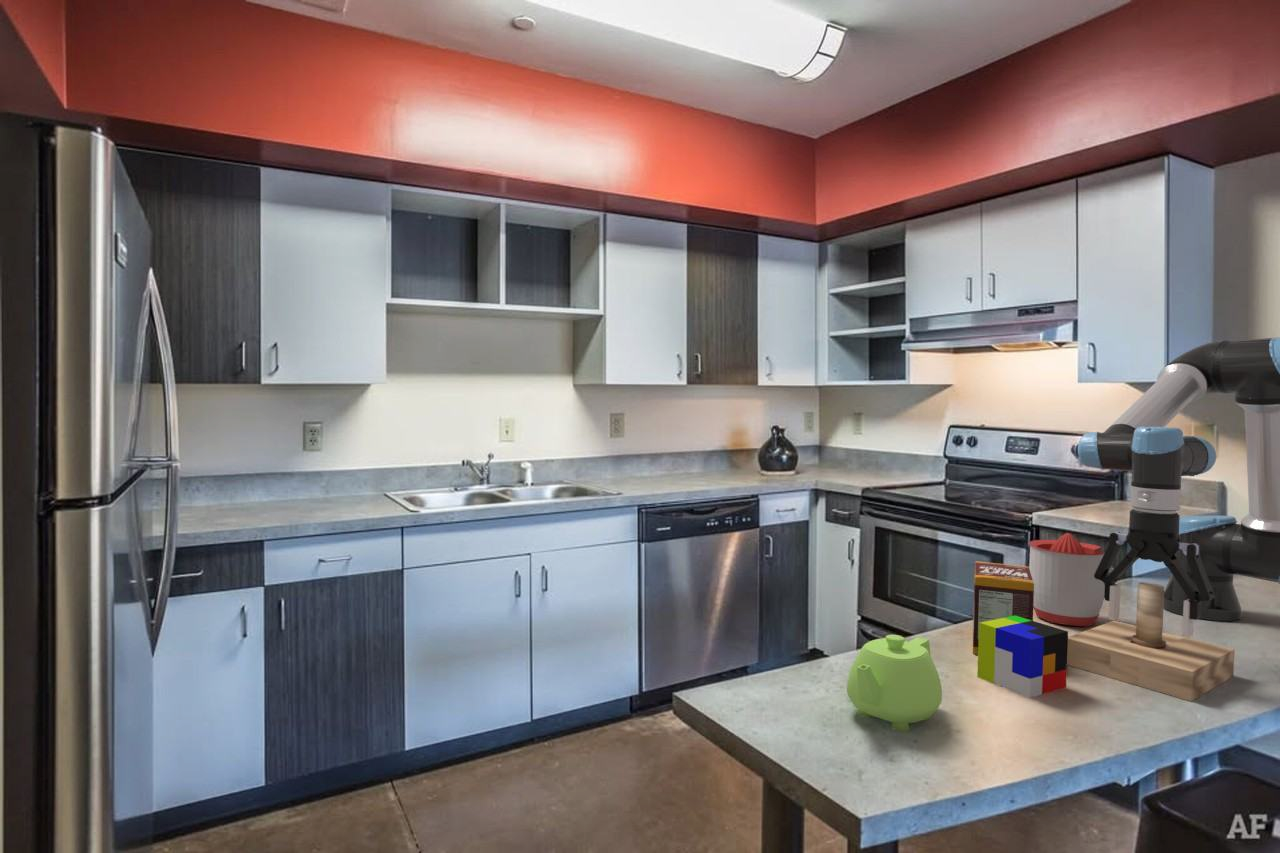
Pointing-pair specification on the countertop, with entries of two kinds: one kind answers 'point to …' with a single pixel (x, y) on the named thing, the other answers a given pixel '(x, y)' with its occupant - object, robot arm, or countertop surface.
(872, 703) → the teapot
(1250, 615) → the countertop surface
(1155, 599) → the leg peg
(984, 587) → the supplement box
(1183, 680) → the seat board
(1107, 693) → the countertop surface
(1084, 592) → the citrus juicer
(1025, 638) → the puzzle toy
